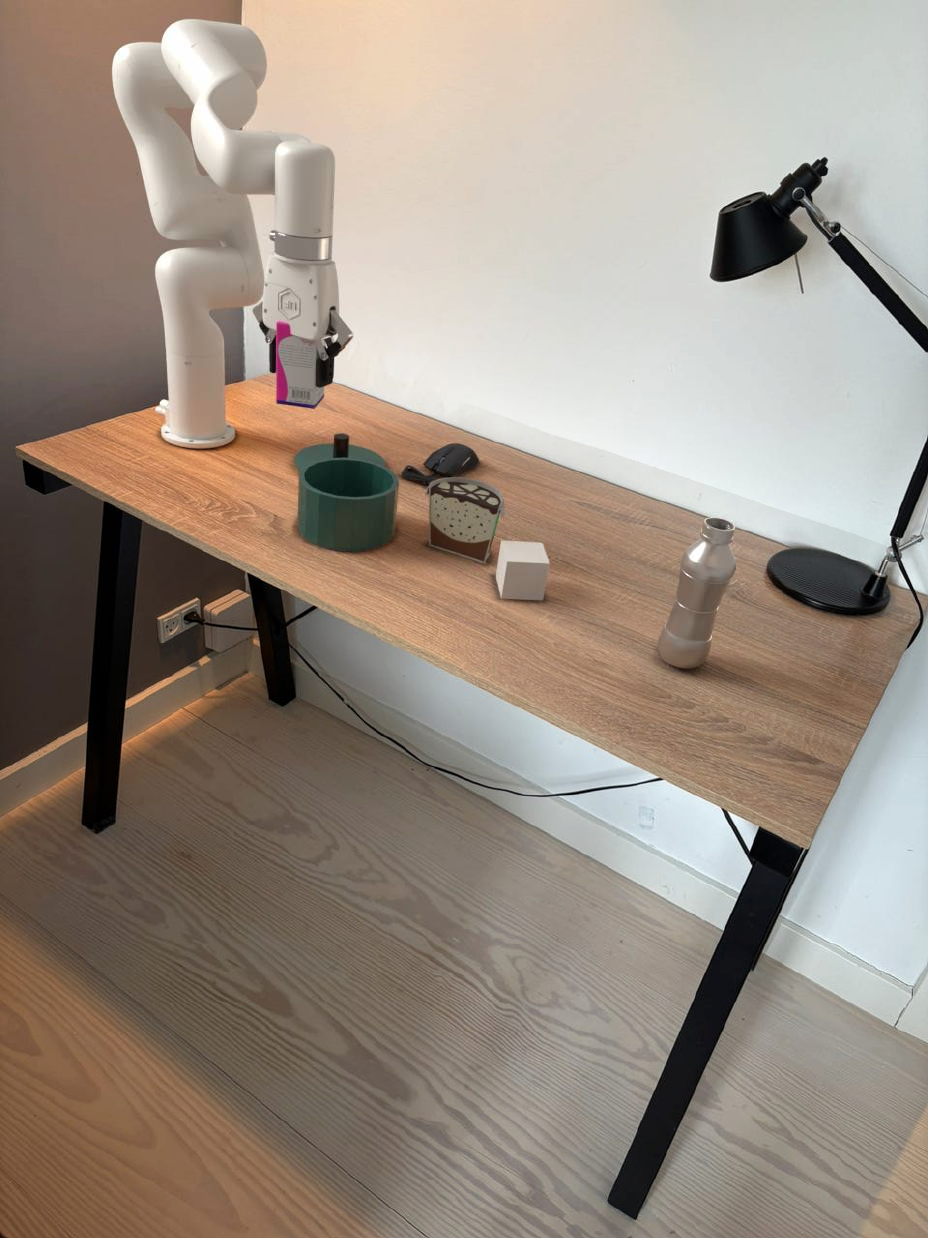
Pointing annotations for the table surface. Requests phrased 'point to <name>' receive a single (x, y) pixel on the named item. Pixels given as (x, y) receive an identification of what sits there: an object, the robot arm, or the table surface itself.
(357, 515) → the tin
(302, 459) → the tin lid
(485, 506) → the food container
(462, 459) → the computer mouse
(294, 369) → the supplement box
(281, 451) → the table surface
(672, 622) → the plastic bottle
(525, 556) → the white cube
